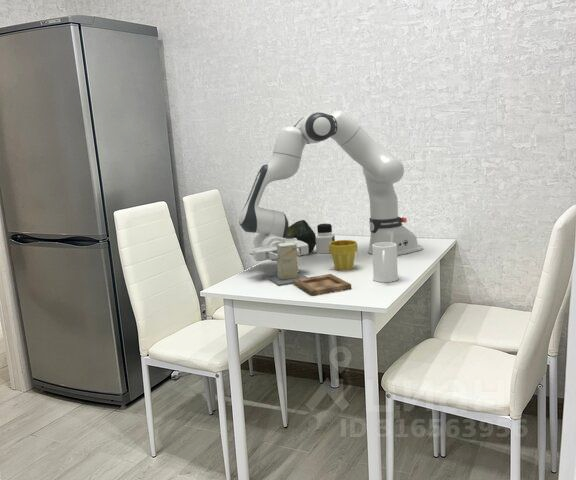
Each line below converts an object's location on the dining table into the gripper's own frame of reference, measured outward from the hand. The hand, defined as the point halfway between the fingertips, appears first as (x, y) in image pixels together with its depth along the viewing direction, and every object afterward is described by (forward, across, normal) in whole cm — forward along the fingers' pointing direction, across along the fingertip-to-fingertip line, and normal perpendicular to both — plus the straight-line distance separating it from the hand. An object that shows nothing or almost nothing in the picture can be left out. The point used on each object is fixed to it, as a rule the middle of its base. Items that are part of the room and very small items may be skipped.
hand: (287, 255), depth 200 cm
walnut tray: (+14, +6, +9) cm, 18 cm away
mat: (-1, 0, +9) cm, 9 cm away
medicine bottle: (-34, +29, +9) cm, 46 cm away
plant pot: (-4, +23, +9) cm, 25 cm away
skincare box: (-2, 0, +8) cm, 9 cm away
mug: (+19, +27, +9) cm, 34 cm away
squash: (-39, +19, +9) cm, 44 cm away
